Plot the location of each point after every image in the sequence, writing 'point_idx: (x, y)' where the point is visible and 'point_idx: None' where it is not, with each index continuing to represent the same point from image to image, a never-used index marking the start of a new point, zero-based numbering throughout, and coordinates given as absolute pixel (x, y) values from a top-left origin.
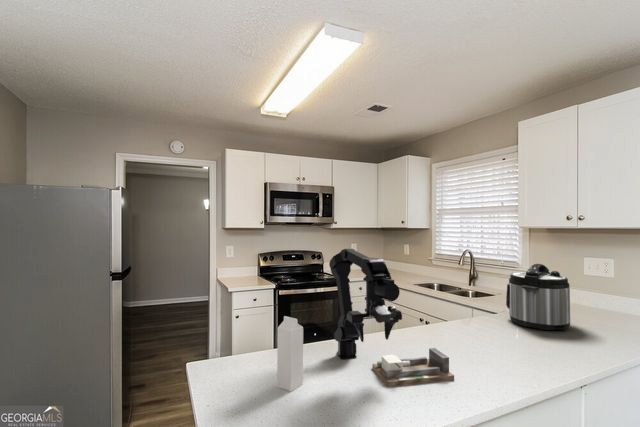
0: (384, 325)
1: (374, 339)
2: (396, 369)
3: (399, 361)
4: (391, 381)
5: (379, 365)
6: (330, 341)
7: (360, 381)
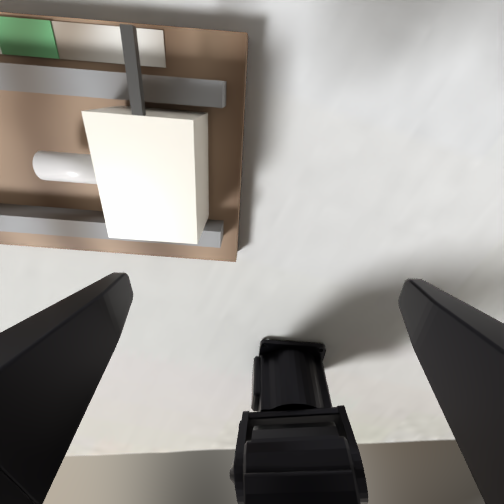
0: (63, 458)
1: (139, 427)
2: (149, 111)
3: (103, 126)
4: (222, 32)
5: (217, 224)
6: None
7: (357, 145)
